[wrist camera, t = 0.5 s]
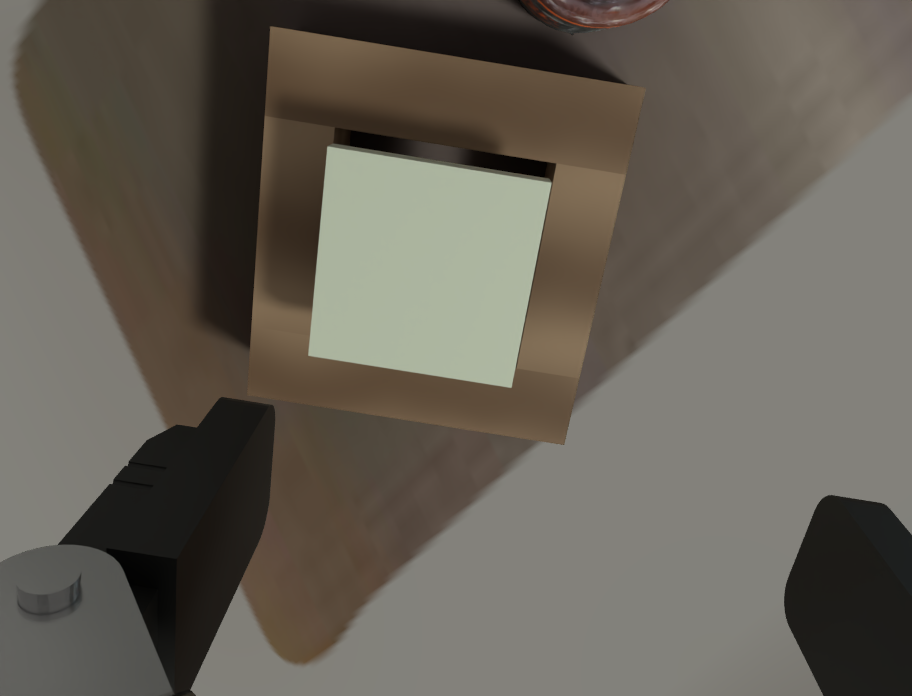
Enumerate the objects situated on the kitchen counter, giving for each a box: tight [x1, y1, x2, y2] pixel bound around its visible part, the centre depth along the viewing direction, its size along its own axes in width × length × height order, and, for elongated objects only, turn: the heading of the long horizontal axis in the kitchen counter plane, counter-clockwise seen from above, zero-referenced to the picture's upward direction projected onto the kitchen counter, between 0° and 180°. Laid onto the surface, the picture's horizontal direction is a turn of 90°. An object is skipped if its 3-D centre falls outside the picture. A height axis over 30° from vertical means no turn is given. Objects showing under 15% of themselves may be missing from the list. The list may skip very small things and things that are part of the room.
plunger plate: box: [308, 144, 552, 388], centre depth 29 cm, size 8×8×1 cm
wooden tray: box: [247, 26, 646, 445], centre depth 33 cm, size 15×14×4 cm
